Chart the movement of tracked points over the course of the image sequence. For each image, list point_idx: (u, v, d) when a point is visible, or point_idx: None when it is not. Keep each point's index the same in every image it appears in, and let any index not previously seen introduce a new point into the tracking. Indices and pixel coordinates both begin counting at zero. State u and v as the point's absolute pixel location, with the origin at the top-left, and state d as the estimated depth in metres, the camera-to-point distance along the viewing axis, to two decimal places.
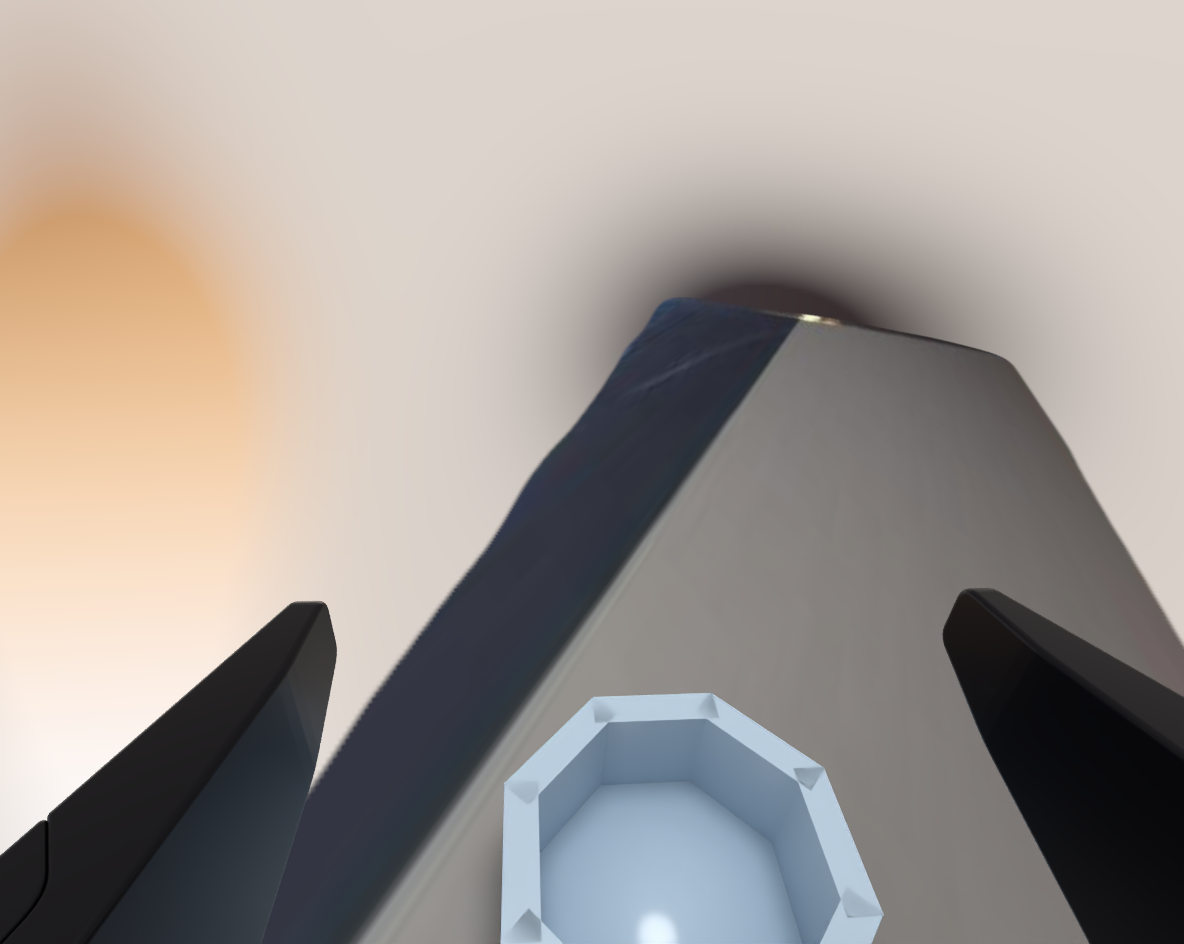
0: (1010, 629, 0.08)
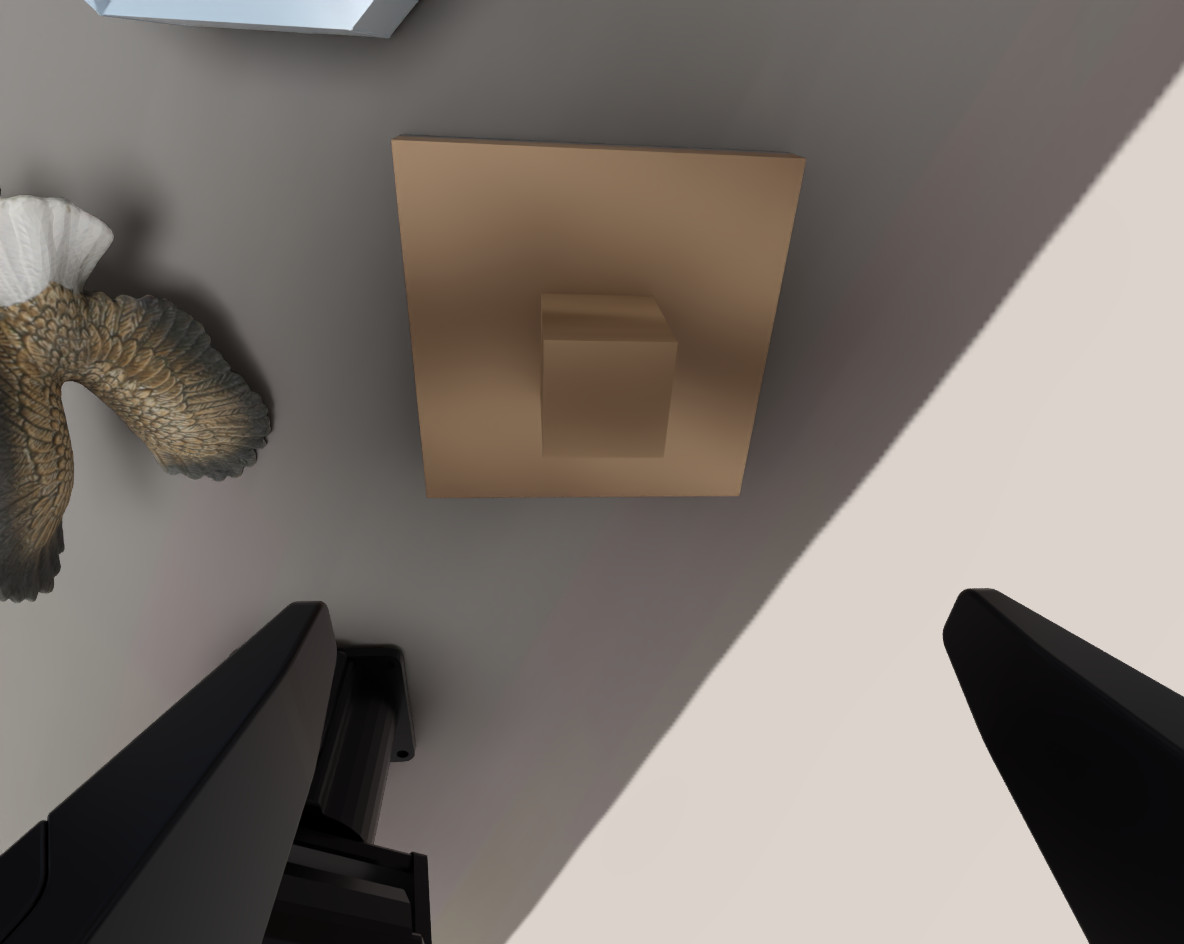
0: (1010, 629, 0.08)
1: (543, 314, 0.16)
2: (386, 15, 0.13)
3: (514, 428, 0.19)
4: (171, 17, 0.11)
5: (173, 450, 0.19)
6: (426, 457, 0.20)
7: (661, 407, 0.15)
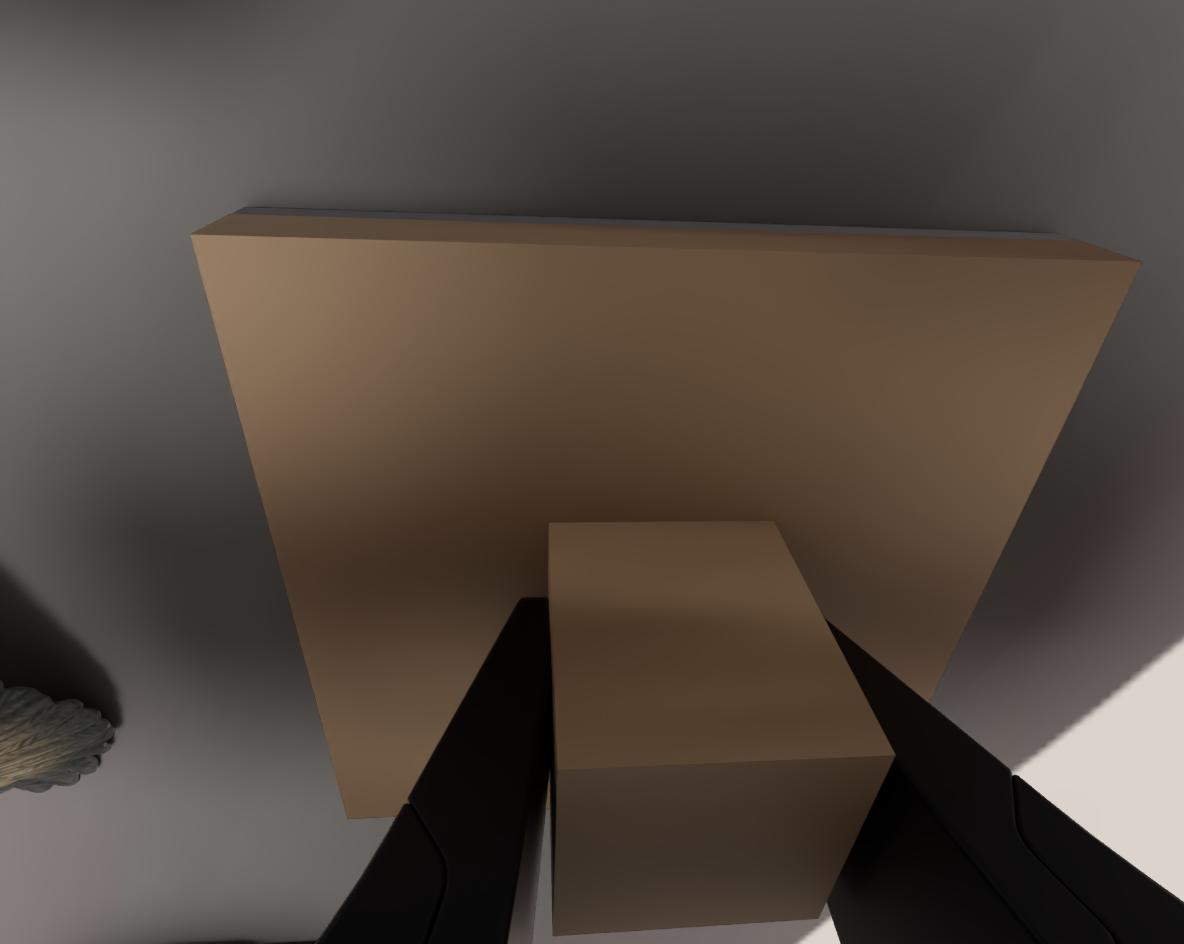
0: None
1: (555, 619, 0.07)
2: None
3: None
4: None
5: None
6: (340, 768, 0.11)
7: (829, 853, 0.07)
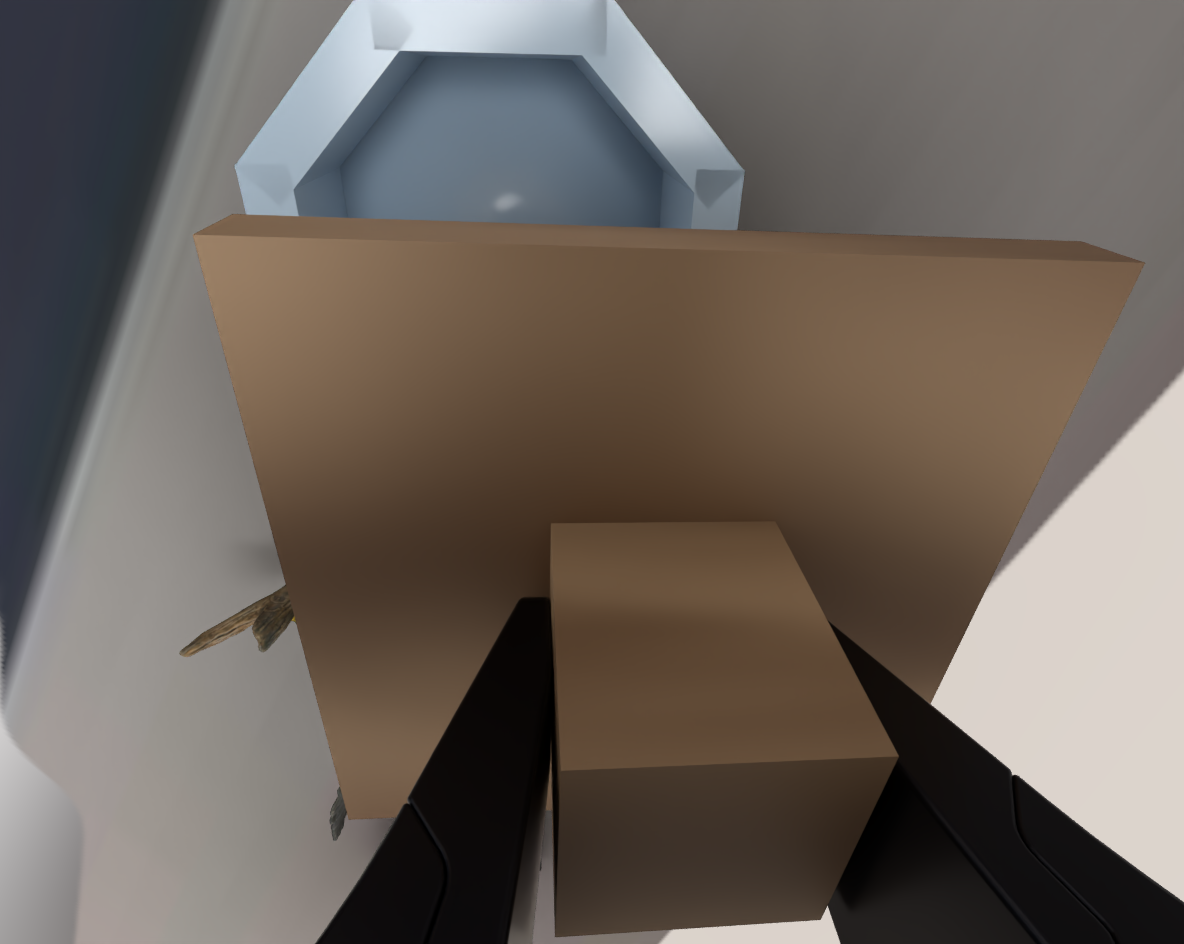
0: None
1: (557, 620, 0.07)
2: None
3: None
4: None
5: None
6: (341, 768, 0.11)
7: (832, 854, 0.07)
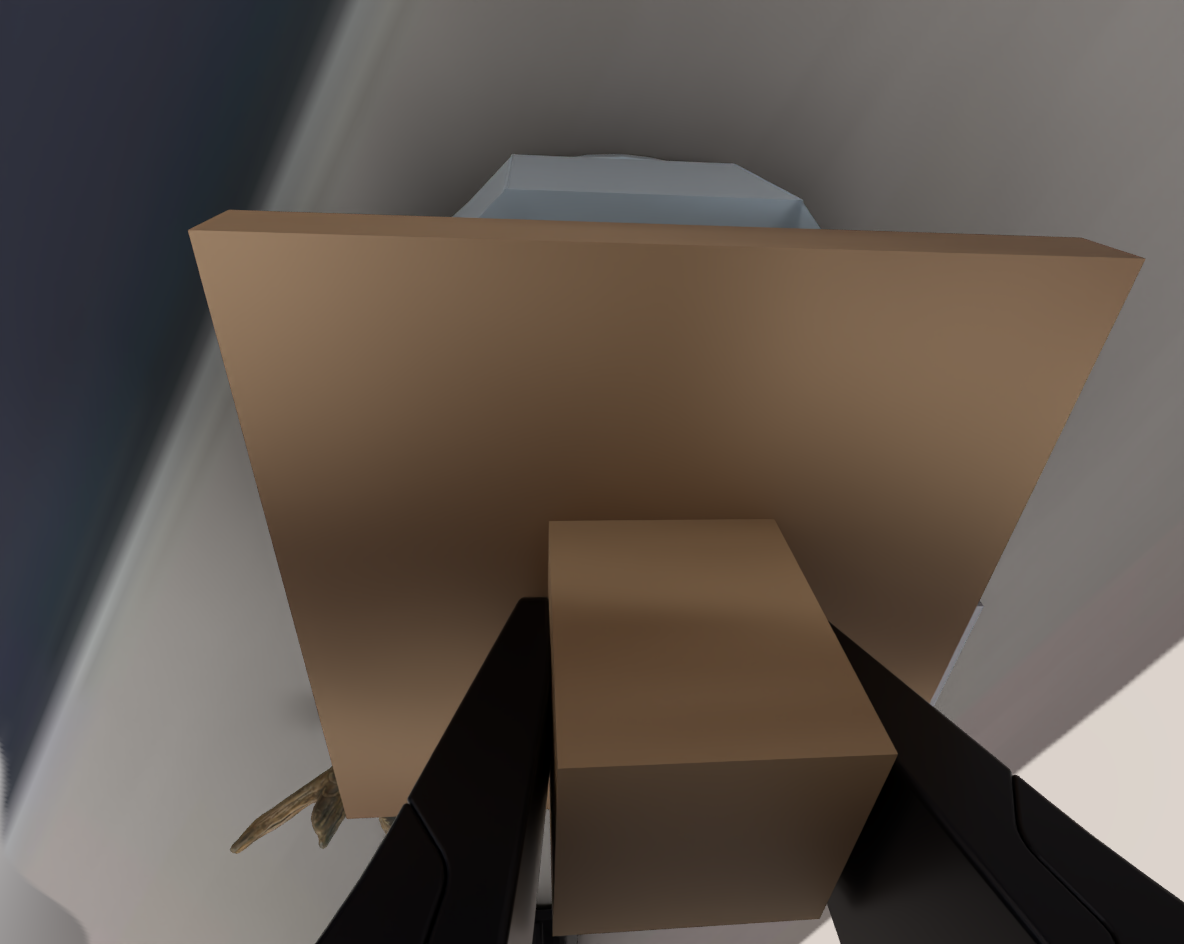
0: None
1: (555, 618, 0.07)
2: None
3: None
4: None
5: None
6: (339, 767, 0.11)
7: (831, 853, 0.07)
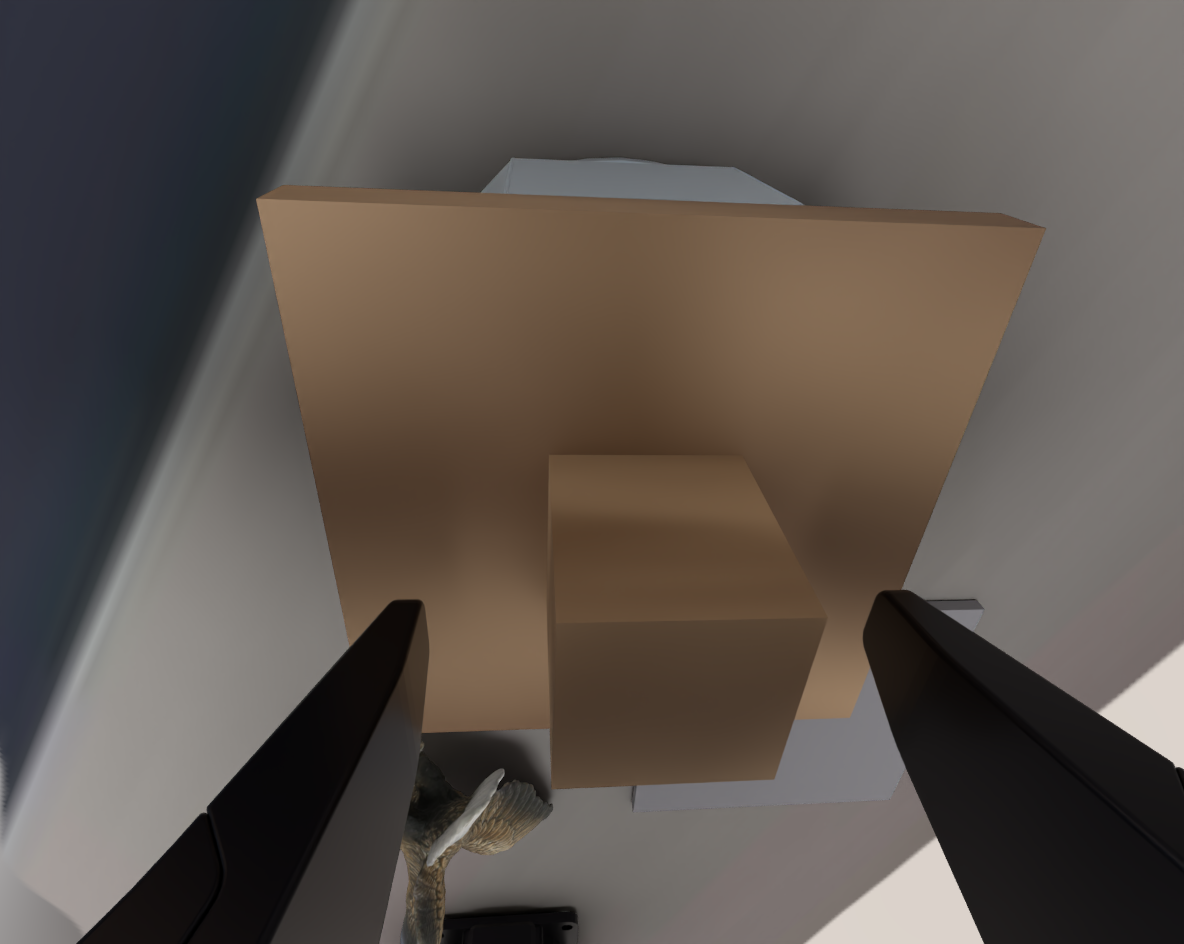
0: (918, 632, 0.08)
1: (554, 524, 0.08)
2: None
3: (504, 644, 0.12)
4: None
5: None
6: None
7: (780, 713, 0.08)
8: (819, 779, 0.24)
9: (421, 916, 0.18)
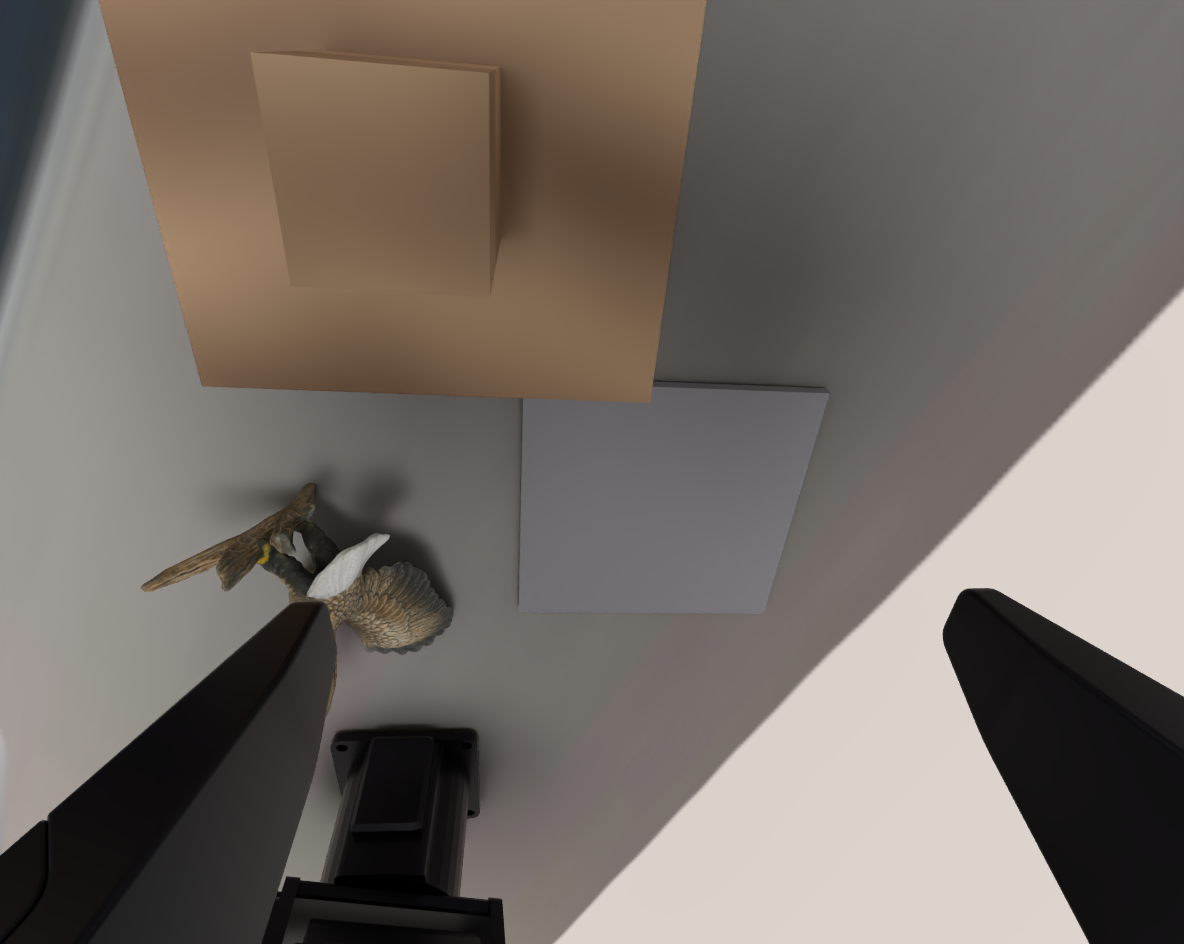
0: (1010, 629, 0.08)
1: (295, 51, 0.10)
2: None
3: None
4: None
5: None
6: (190, 321, 0.14)
7: (475, 202, 0.09)
8: (693, 584, 0.26)
9: None
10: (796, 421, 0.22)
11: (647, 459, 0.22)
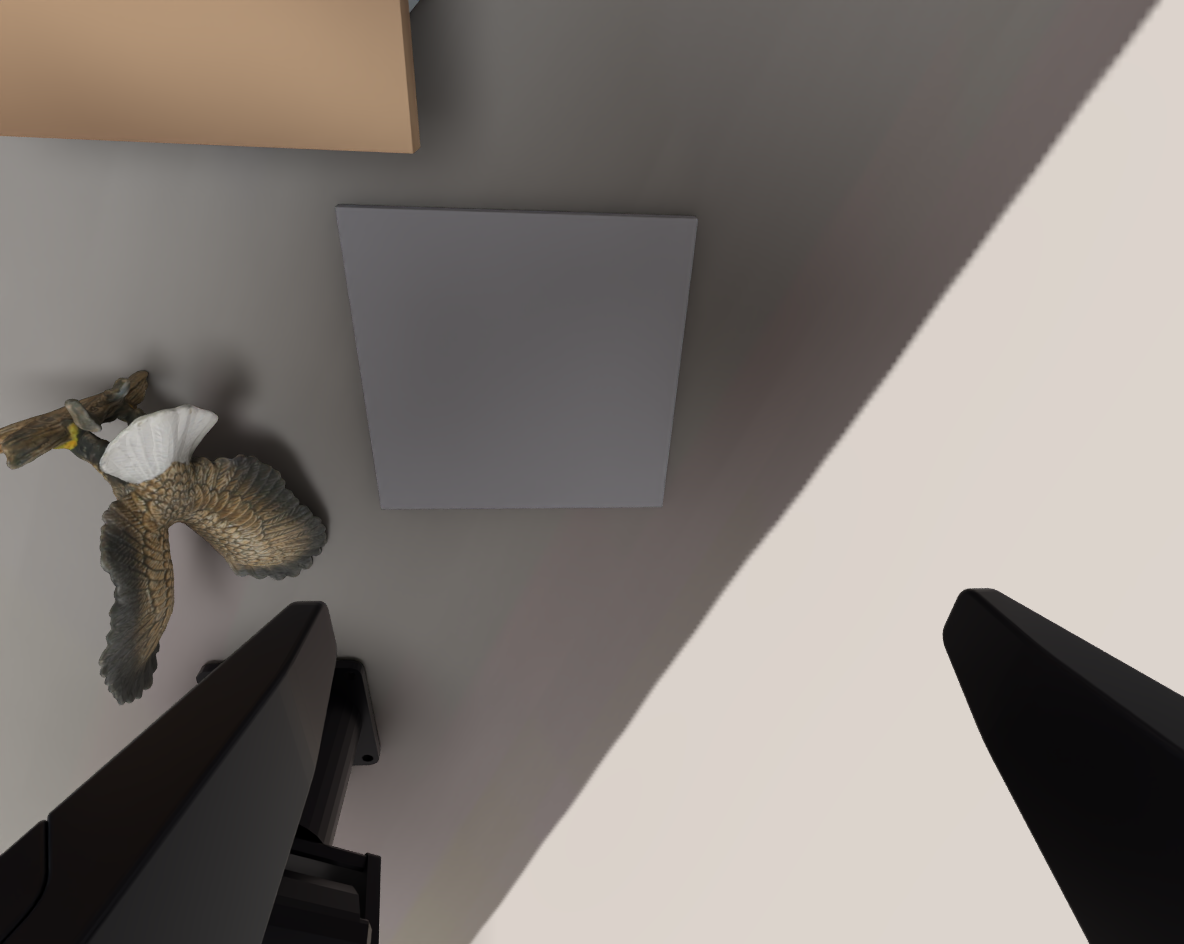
0: (1010, 629, 0.08)
1: None
2: None
3: None
4: None
5: (248, 564, 0.23)
6: None
7: None
8: (576, 471, 0.23)
9: (110, 541, 0.17)
10: (664, 256, 0.19)
11: (497, 308, 0.20)
